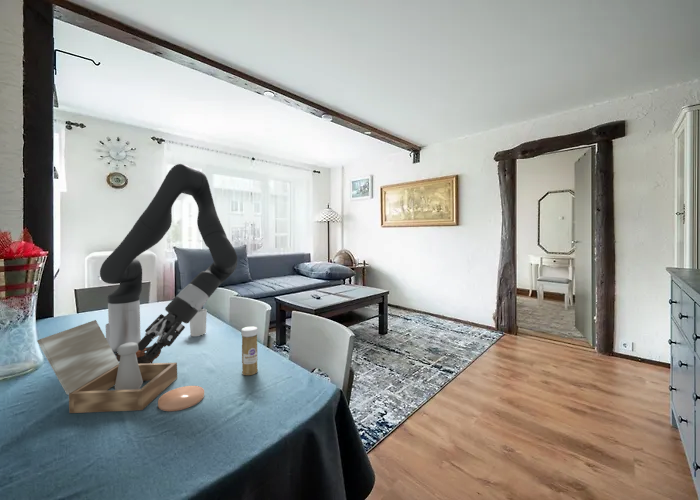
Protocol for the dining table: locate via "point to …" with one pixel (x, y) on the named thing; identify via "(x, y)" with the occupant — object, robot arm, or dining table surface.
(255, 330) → the sprinkles bottle
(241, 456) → the dining table surface
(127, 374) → the salt shaker
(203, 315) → the drinking glass
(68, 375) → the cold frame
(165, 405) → the terracotta saucer
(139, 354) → the pottery mug
